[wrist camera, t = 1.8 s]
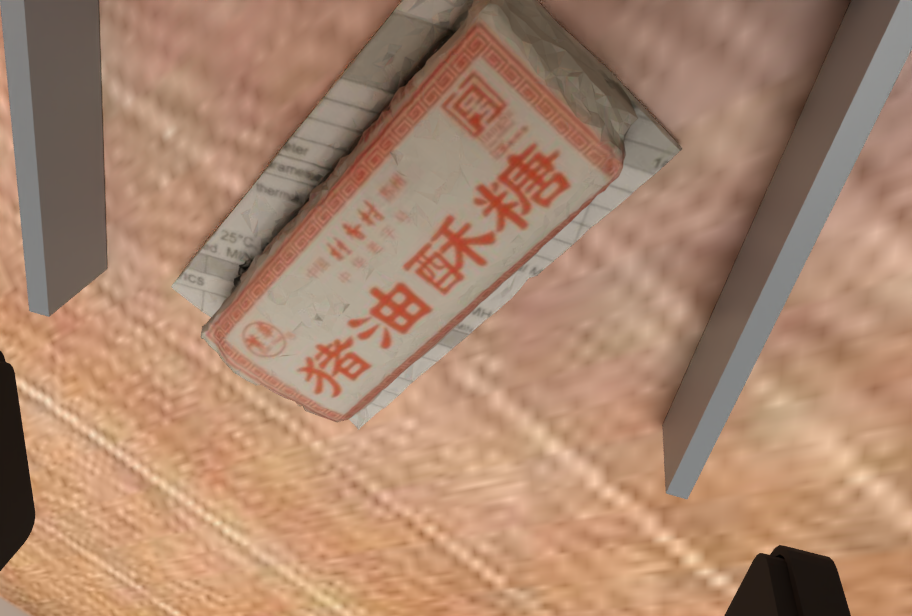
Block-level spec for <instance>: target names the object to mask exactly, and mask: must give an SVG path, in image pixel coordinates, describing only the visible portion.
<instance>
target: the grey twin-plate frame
mask: <svg viewBox="0 0 912 616" xmlns="http://www.w3.org/2000/svg"><path fill="white" fill-rule="evenodd" d="M0 7H1V17H2V28H3V38H4V49H5V59H6V70H7V80H8V91H9V101H10V112H11V122H12V133H13V144H14V154H15V165H16V175H17V186H18V196H19V207H20V217H21V228H22V238H23V249H24V259H25V270H26V280H27V291H28V301H29V311H31V312H34V313H38V314H41V315H45V316H48V317H49V316H51V315H52V314H53V313H54V312H55V311H57V310H58V309H59V308H60V307H61V306H63V305H64V304H65V303H66V302H68V301H69V300H70V299H71V298H72V297H74V296H75V295H76V294H77V293H78V292H80V291H81V290H82V289H83V288H85V287H86V286H87V285H88V284H89V283H91V282H92V281H93V280H94V279H96V278H97V277H98V276H99V275H100V274H102V273H103V272H104V271H105V270H106V269H107V248H106V217H105V187H104V156H103V125H102V94H101V64H100V33H99V2H98V0H0ZM911 49H912V0H851V2H850V4H849V7H848V9H847V11H846V13H845V16H844V18H843V20H842V22H841V25H840V27H839V29H838V31H837V34H836V36H835V38H834V40H833V43H832V45H831V47H830V49H829V52H828V54H827V56H826V58H825V61H824V63H823V65H822V67H821V70H820V72H819V74H818V76H817V79H816V81H815V83H814V85H813V88H812V90H811V92H810V94H809V97H808V99H807V101H806V103H805V106H804V108H803V110H802V112H801V115H800V117H799V119H798V121H797V124H796V126H795V128H794V130H793V133H792V135H791V137H790V139H789V142H788V144H787V146H786V148H785V151H784V153H783V155H782V157H781V160H780V162H779V164H778V166H777V169H776V171H775V173H774V175H773V178H772V180H771V182H770V184H769V187H768V189H767V191H766V193H765V196H764V198H763V200H762V202H761V205H760V207H759V209H758V211H757V214H756V216H755V218H754V220H753V223H752V225H751V227H750V229H749V232H748V234H747V236H746V238H745V241H744V243H743V245H742V247H741V250H740V252H739V254H738V256H737V259H736V261H735V263H734V265H733V268H732V270H731V272H730V274H729V277H728V279H727V281H726V283H725V286H724V288H723V290H722V292H721V295H720V297H719V299H718V301H717V304H716V306H715V308H714V310H713V313H712V315H711V317H710V319H709V322H708V324H707V326H706V328H705V331H704V333H703V335H702V337H701V340H700V342H699V344H698V346H697V349H696V351H695V353H694V355H693V358H692V360H691V362H690V364H689V367H688V369H687V371H686V373H685V376H684V378H683V380H682V382H681V385H680V387H679V389H678V391H677V394H676V396H675V398H674V400H673V403H672V405H671V407H670V409H669V412H668V414H667V416H666V418H665V421H664V423H663V425H662V426H663V446H664V466H665V486H666V493H667V494H670V495H674V496H677V497H681V498H684V499H688V497H689V495H690V493H691V491H692V489H693V487H694V485H695V483H696V481H697V479H698V477H699V475H700V473H701V471H702V469H703V467H704V465H705V463H706V461H707V459H708V457H709V455H710V453H711V451H712V449H713V447H714V445H715V443H716V441H717V439H718V437H719V435H720V433H721V431H722V429H723V427H724V425H725V423H726V421H727V419H728V417H729V415H730V413H731V411H732V409H733V407H734V405H735V403H736V401H737V399H738V397H739V395H740V393H741V391H742V389H743V387H744V385H745V383H746V381H747V379H748V377H749V375H750V373H751V371H752V369H753V367H754V365H755V363H756V361H757V359H758V357H759V355H760V353H761V351H762V349H763V347H764V345H765V343H766V341H767V339H768V337H769V335H770V332H771V330H772V328H773V326H774V324H775V322H776V320H777V318H778V316H779V314H780V312H781V310H782V308H783V306H784V304H785V302H786V300H787V298H788V296H789V294H790V292H791V290H792V288H793V286H794V284H795V282H796V280H797V278H798V276H799V274H800V272H801V270H802V268H803V266H804V264H805V262H806V260H807V258H808V256H809V254H810V252H811V250H812V248H813V246H814V244H815V242H816V240H817V238H818V236H819V234H820V232H821V230H822V228H823V226H824V224H825V222H826V220H827V218H828V216H829V214H830V212H831V210H832V208H833V206H834V204H835V202H836V200H837V198H838V196H839V194H840V192H841V190H842V188H843V186H844V184H845V182H846V180H847V178H848V176H849V174H850V172H851V170H852V168H853V166H854V164H855V162H856V160H857V158H858V156H859V154H860V152H861V150H862V148H863V146H864V144H865V142H866V140H867V138H868V136H869V134H870V132H871V130H872V128H873V126H874V124H875V122H876V120H877V118H878V116H879V114H880V112H881V110H882V108H883V106H884V104H885V102H886V100H887V98H888V96H889V94H890V92H891V90H892V88H893V86H894V83H895V81H896V79H897V77H898V75H899V73H900V71H901V69H902V67H903V65H904V63H905V61H906V59H907V57H908V55H909V53H910V51H911Z"/></svg>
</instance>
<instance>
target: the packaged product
mask: <svg viewBox="0 0 912 616" xmlns="http://www.w3.org/2000/svg"><path fill="white" fill-rule="evenodd" d="M680 150H682V148H681V146H680V145H679V144H678V143H677V142H676V141H675V140H674V139H673V138H672V137H671V136H670V135H669V134H668V132H667V131H666V130H665V129H664V128H663V127H662V126H661V125H660V124H659V123H658V122H657V121H656V120H655V118H654V117H653V116H652V115H651V114H650V113H649V112H648V111H647V110H646V109H645V108H644V107H643V106H642V104H641V103H640V102H639V101H638V100H637V99H636V98H635V97H634V96H633V95H632V94H631V93H630V92H629V90H628V89H627V88H626V87H625V86H624V85H623V84H622V83H621V82H620V81H619V80H618V79H617V78H616V77H615V75H614V74H613V73H612V72H611V71H610V70H609V69H607V68H606V67H605V66H604V65H603V64H602V63H601V62H600V61H599V60H598V59H597V58H595V57H594V56H593V55H592V54H591V53H590V52H589V51H588V50H587V49H586V48H585V47H583V46H582V45H581V44H580V43H579V42H578V41H577V40H576V39H575V38H574V37H572V36H571V35H570V34H569V33H568V32H567V31H566V30H565V29H564V28H563V27H562V26H560V25H559V24H558V23H557V22H556V20H555V19H554V18H553V17H552V16H551V15H550V14H549V13H548V12H547V11H546V9H545V8H544V7H543V6H542V5H541V4H540V3H539V2H538V1H537V0H402V1H401V2H400V4H399V5H398V6H397V7H396V9H395V10H394V11H393V13H392V14H391V15H390V17H389V18H388V19H387V20H386V21H385V23H384V24H383V25H382V26H381V27H380V29H379V30H378V31H377V32H376V33H375V35H374V36H373V37H372V38H371V39H370V41H369V42H368V43H367V44H366V45H365V47H364V48H363V49H362V50H361V51H360V53H359V54H358V55H357V56H356V57H355V59H354V60H353V61H352V62H351V63H350V65H349V66H348V67H347V68H346V69H345V71H344V72H343V73H342V74H341V75H340V77H339V78H338V79H337V80H336V82H335V83H334V84H333V86H332V87H331V88H330V89H329V91H328V92H327V93H326V95H325V96H324V97H323V98H322V100H321V101H320V102H319V104H318V105H317V106H316V107H315V109H314V110H313V111H312V112H311V114H310V115H309V116H308V117H307V118H306V120H305V121H304V122H303V123H302V124H301V126H300V127H299V128H298V129H297V130H296V131H295V133H294V134H293V135H292V136H291V137H290V139H289V140H288V141H287V142H286V143H285V145H284V146H283V147H282V148H281V149H280V151H279V152H278V153H277V154H276V155H275V157H274V158H273V160H272V161H271V162H270V164H269V165H268V166H267V168H266V169H265V170H264V172H263V173H262V174H261V176H260V177H259V179H258V180H257V181H256V183H255V184H254V185H253V187H252V188H251V189H250V190H249V191H248V193H247V194H246V195H245V196H244V197H243V198H242V200H241V201H240V202H239V203H238V204H237V206H236V207H235V208H234V209H233V210H232V212H231V213H230V214H229V215H228V216H227V218H226V219H225V220H224V221H223V222H222V224H221V225H220V226H219V227H218V228H217V229H216V231H215V232H214V233H213V234H212V235H211V237H210V238H209V239H208V240H207V241H206V243H205V244H204V245H203V246H202V247H201V249H200V250H199V251H198V252H197V254H196V255H195V256H194V258H193V259H192V260H191V261H190V263H189V264H188V265H187V267H186V268H185V269H184V271H183V272H182V273H181V274H180V276H179V277H178V278H177V280H176V281H175V282H174V284H173V285H172V288H173V289H174V290H175V291H176V292H178V293H179V294H180V295H182V296H183V297H184V298H185V299H187V300H188V301H189V302H191V303H192V304H193V305H194V306H195V307H197V308H198V309H200V310H201V311H202V312H204V313H205V314H207V315H208V316H210V317H211V319H210V320H209V321H208V322H207V323H206V324H205V325H203V326H202V332H201V338H202V339H205V341H206V342H207V343H208V344H209V346H210V347H211V348H213V349H214V350H215V351H216V352H217V353H218V354H219V356H220V358H221V359H222V360H223V361H224V362H225V363H226V365H227V366H228V367H229V368H230V369H231V370H232V371H233V372H234V373H235V374H237V375H239V376H240V377H242V378H244V379H245V380H247V381H249V382H251V383H253V384H255V385H263V386H264V387H266V388H267V389H269V390H270V391H272V392H274V393H276V394H278V395H280V396H282V397H285V398H287V399H290V400H292V401H295V402H296V403H297V404H298V406H303V408H304V409H305V411H307V412H310V413H313V414H315V415H318V416H321V417H324V418H327V419H330V420H332V421H335V422H340V421H344V420H348V419H349V420H350V421H351V422H352V423H353V424H354V425H355V426H356V427H357V428H358V430H359V429H360V428H361V427H362V426H363V425H364V424H365V423H366V422H367V421H368V420H369V419H371V418H372V417H373V416H374V415H375V414H377V413H378V412H379V411H380V410H381V409H383V408H385V407H386V406H387V405H389V404H390V403H391V402H392V401H393V400H394V399H395V398H396V397H398V396H399V395H400V394H401V393H402V392H403V391H404V390H405V389H406V388H407V387H408V386H409V385H410V384H411V383H412V382H413V381H415V380H416V379H417V378H418V377H419V376H421V375H422V374H423V373H424V372H425V371H427V370H428V369H429V368H430V367H431V366H433V365H434V364H435V363H436V362H437V361H439V360H440V359H441V358H442V357H443V356H444V355H446V354H447V353H448V352H449V351H450V350H452V349H453V348H454V347H455V346H456V345H457V344H459V343H460V342H461V341H462V340H463V339H464V338H466V337H467V336H468V335H469V334H470V333H471V332H472V331H474V330H475V329H476V328H477V327H478V326H479V325H480V324H481V323H483V322H484V321H485V320H486V319H487V318H489V317H490V316H491V315H493V314H494V313H495V312H496V311H497V310H499V309H500V308H501V307H502V306H503V305H504V304H505V303H507V302H508V301H509V300H510V299H511V298H512V297H513V296H514V295H515V294H516V293H517V292H518V291H519V290H520V288H521V287H522V286H523V285H524V283H525V282H526V281H527V279H528V278H531V277H534V276H537V275H538V274H539V273H540V272H541V271H543V270H544V269H545V268H546V267H547V266H548V265H550V264H551V263H552V262H553V261H554V260H555V259H557V258H558V257H559V256H560V255H562V254H563V253H564V252H565V251H566V250H567V249H568V248H570V247H571V246H572V245H573V244H574V243H575V242H576V241H577V240H578V239H580V238H581V237H582V236H583V235H584V234H585V232H586V231H587V230H588V229H590V228H591V227H592V226H594V225H595V224H596V223H598V222H599V221H600V220H601V219H603V218H604V217H605V216H606V215H607V214H608V213H610V212H611V211H612V210H613V209H614V208H616V207H617V206H618V205H619V204H620V203H622V202H623V201H624V200H625V199H626V198H627V197H629V196H630V195H631V194H632V193H633V192H634V191H635V190H636V189H637V188H638V187H640V186H641V185H642V184H643V183H645V182H646V181H647V180H648V179H650V178H651V177H652V176H653V175H654V174H656V173H657V172H658V171H659V170H660V169H661V168H662V167H663V166H664V165H666V164H667V163H668V162H669V161H670V160H671V159H672V158H673V157H674V156H675V155H676V154H677V153H678V152H679V151H680Z"/></svg>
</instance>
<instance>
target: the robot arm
mask: <svg viewBox="0 0 912 616" xmlns="http://www.w3.org/2000/svg"><path fill="white" fill-rule="evenodd" d="M34 521H35V508H34V501H33V494H32V488H31V481H30V474H29V467H28V460H27V454H26V447H25V440H24V433H23V427H22V420H21V413H20V406H19V399H18V393H17V386H16V379H15V373H14V369H13V367H12V366H11V365H10V364H9V363H6V361H5V358H4V355H3V353H2V352H1V351H0V571H1V570H2V568H3V567H4V566H5V565H6V564H7V563H8V561H9V560H10V559H11V558H12V557H13V556H14V554H15V553H16V552H17V551H18V550H19V549H20V547H21V546H22V545H23V544H24V542H25V541H26V540H27V538H28V537H29V535H30V533H31V531H32V528H33V525H34ZM725 616H851V615H850V611H849V608H848V605H847V601H846V598H845V594H844V591H843V588H842V584H841V581H840V577H839V574H838V571H837V568H836V566H835V563H834V561H833V560H832V559H831V558H830V557H826V556H822V555H818V554H814V553H810V552H807V551H803V550H799V549H795V548H791V547H787V546H781V545H779V546H777V547H776V548H775V549H774V550H773V552H772V553H771V554H770V555H767V554H763V553H759V554H758V555H757V556H756V557H755V559H754V560H753V562H752V564H751V566H750V568H749V570H748V572H747V574H746V575H745V577H744V579H743V581H742V583H741V585H740V587H739V589H738V591H737V593H736V595H735V596H734V598H733V600H732V602H731V604H730V606H729V608H728V610H727V612H726V614H725Z"/></svg>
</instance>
